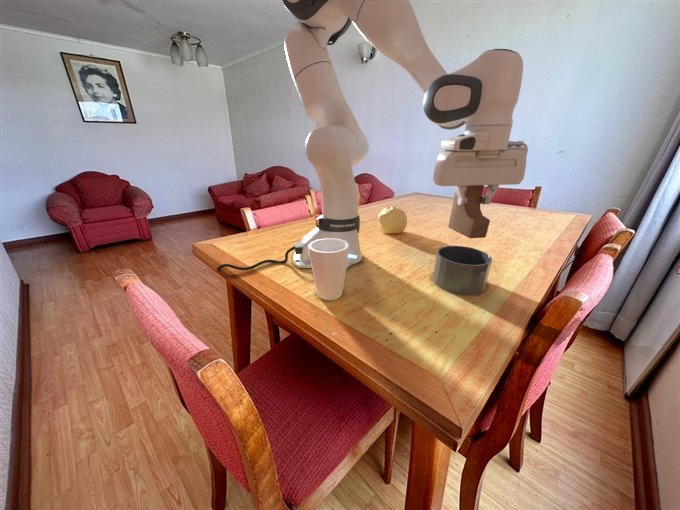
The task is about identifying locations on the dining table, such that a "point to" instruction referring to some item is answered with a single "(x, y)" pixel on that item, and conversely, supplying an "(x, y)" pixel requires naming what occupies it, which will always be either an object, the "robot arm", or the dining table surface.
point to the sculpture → (392, 220)
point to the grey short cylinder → (461, 269)
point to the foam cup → (329, 266)
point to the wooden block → (469, 214)
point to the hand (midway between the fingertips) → (473, 204)
